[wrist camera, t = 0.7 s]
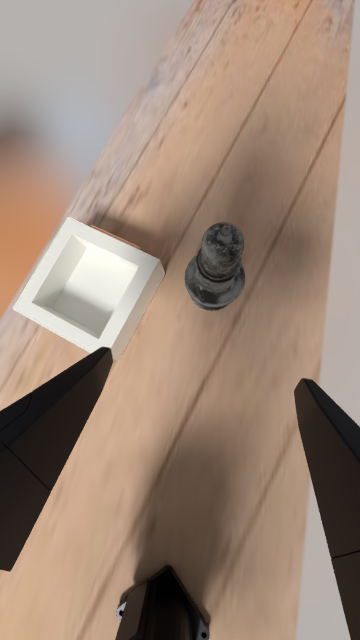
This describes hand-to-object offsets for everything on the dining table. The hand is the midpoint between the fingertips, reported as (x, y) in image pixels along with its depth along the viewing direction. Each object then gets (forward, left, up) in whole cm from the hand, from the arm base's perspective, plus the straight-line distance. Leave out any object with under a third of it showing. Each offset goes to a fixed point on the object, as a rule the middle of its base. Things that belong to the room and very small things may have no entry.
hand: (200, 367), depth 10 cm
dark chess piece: (+5, -6, -13) cm, 16 cm away
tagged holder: (+13, +5, -13) cm, 19 cm away
